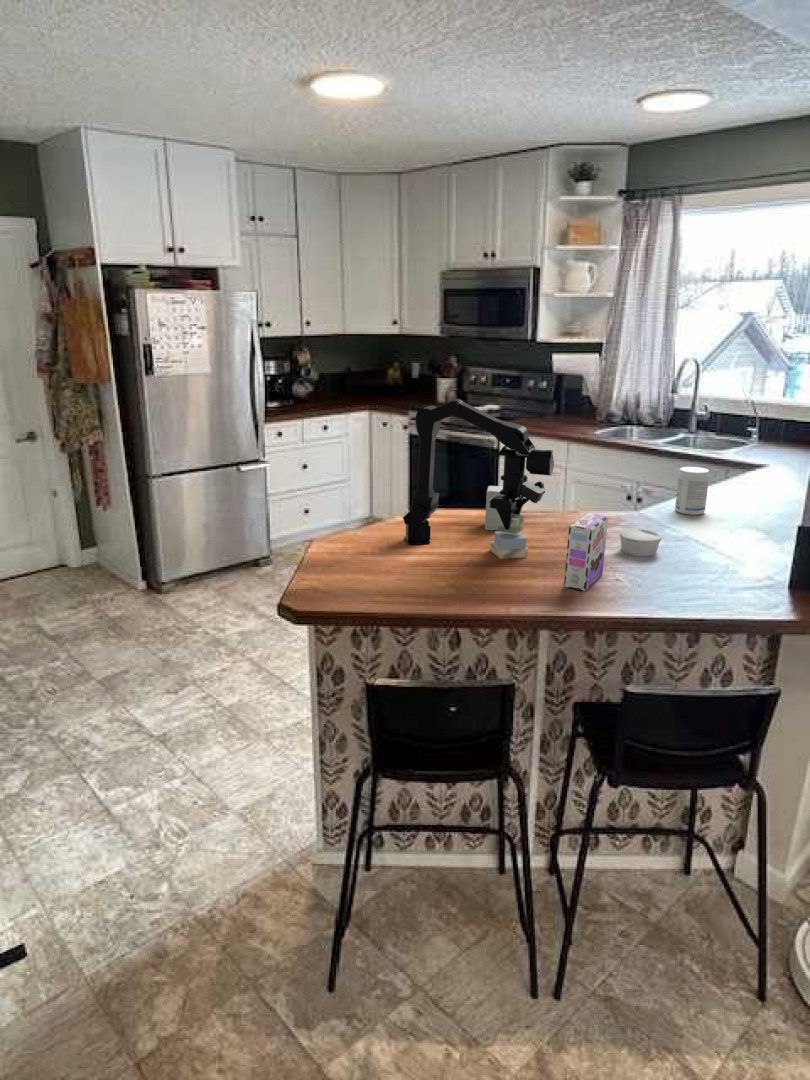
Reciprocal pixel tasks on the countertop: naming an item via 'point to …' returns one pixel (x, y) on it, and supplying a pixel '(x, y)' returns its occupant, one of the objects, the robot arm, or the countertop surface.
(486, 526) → the supplement box
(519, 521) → the green block
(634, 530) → the ramekin
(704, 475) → the supplement tub
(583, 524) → the candy box
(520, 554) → the birch base block
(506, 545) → the slate blue top block
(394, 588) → the countertop surface
